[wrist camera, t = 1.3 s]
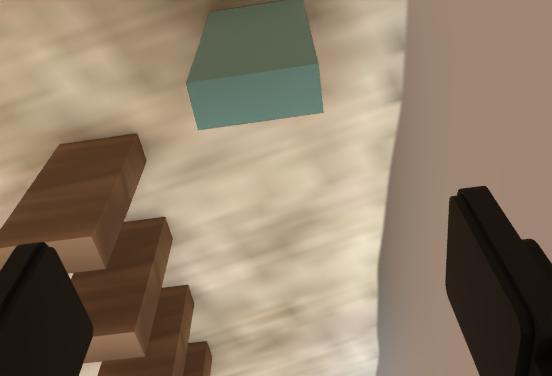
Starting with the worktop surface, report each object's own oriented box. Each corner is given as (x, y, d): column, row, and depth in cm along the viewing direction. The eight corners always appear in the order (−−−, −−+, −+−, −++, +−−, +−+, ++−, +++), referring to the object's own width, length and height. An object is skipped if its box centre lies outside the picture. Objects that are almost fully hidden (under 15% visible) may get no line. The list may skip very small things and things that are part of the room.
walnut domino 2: (94, 226, 35) (42, 342, 27) (165, 217, 35) (134, 331, 27) (104, 248, 36) (56, 366, 28) (172, 239, 36) (145, 356, 28)
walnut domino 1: (59, 144, 32) (-14, 249, 23) (137, 133, 31) (91, 236, 23) (70, 171, 33) (5, 281, 25) (146, 161, 33) (105, 268, 24)
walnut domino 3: (123, 292, 39) (85, 413, 31) (188, 285, 39) (166, 404, 30) (131, 310, 40) (97, 432, 32) (194, 303, 40) (175, 424, 31)
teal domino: (209, 11, 28) (185, 83, 19) (302, -3, 27) (318, 63, 19) (217, 47, 29) (198, 130, 20) (306, 34, 28) (323, 112, 20)
